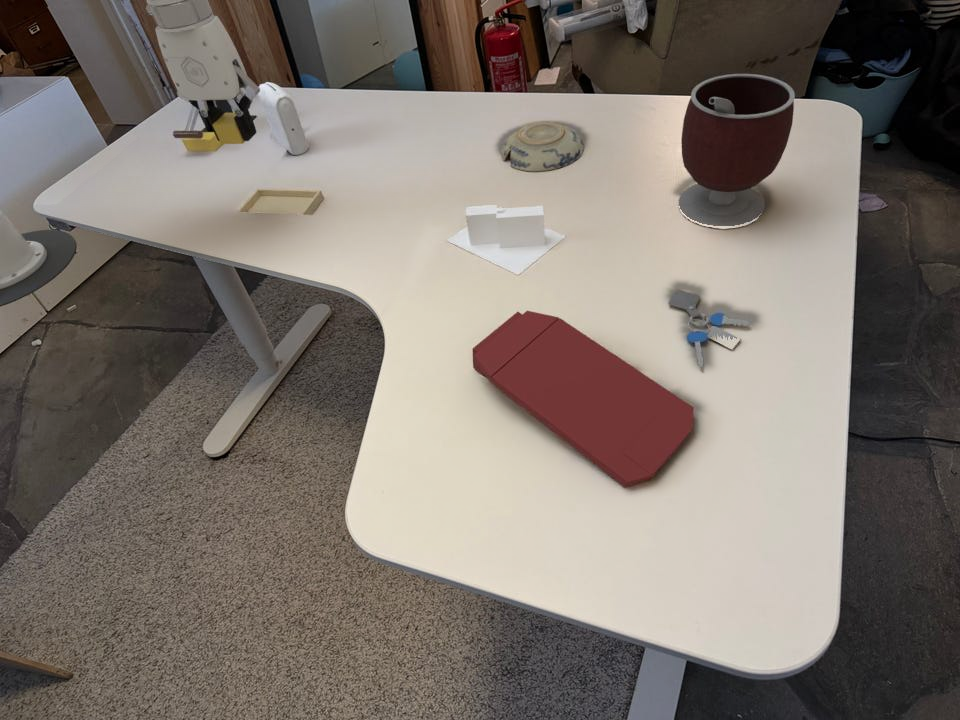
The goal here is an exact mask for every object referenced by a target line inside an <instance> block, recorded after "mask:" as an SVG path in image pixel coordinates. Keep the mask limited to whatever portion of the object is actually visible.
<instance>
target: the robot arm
mask: <svg viewBox="0 0 960 720" xmlns="http://www.w3.org/2000/svg"><path fill="white" fill-rule="evenodd" d="M146 3H147V4H146V6H145V10H146V12H147V14H148V15H149V16H153V18H154V19H155V22H156V24H157V26H156V27H155V34H156V38H157V43H158V46H159V49H160V52H161V55H162V57H163V61H164V63H165V65H166V68H167V69H168V73H169V75H170V77H171V78H170V79H171V80H172V82H173V84H174V85H175V89H176V96H177V97H179V98H180V99H182V100H184V101H186V102H188V103H189V104H191V105H193V106H194V107H196V108H197V109H198V110H200V113H201V114H202V116H204V117H207V119H208V121H209V123H210V125H211V127H212V129H213V131H214V133H215V136H216V138H217V140H218V141H220V140H219V138H218V136H217V134H216V131H215V129H214V127H213V124H214V123H215V122H216V121H217V120H218V119H219V118H220V117H221V116H222V115H223V111H222V110H221V108H218V109H217V105H216V102H215V100H227V101H228V103H229V104H230V106H231V108H232V110H233V113H235V114H236V116H235V117H234V120H235V122H236V124H237V126H238V129H239V131H240V133H241V136H242V138H243V140H244V141H245V142H249V141H250V140H251V139H252V138H253V137H254V136H255V135H257V127H256V126H255V123H254V120H252V118H251V113H250V111H249V110H250V109H251V105H252V103H253V101H254V99H255V98H256V97H257V96H258V93H259V92H260V89H259V85H257V84H256V82H254V81H253V80H252V79H251V78H250V77H249V76H248V74H247V70H246V68H245V66H244V64H243V61H242V59H241V57H240V55H239V53H238V50H237V48H236V46H235V44H234V42H233V40H232V39H231V37H230V34H229V33H228V31H227V30H226V28H225V26H224V24H223V23H222V21H221V19H220V18H219V16H218V15H214V12H213V9H212V7H211V5H210V2H209V0H146ZM243 89H244V91H245V93H244V91H243ZM235 97H236V98H237V100H236V98H235ZM21 234H22V233H21V232H20V231H19V230H18V229H17V228H16V226H15V225H14V224H13V222H11V220H10V219H9V218H8V216H7V215H6V214H5V213H4V211H3V210H2V209H1V208H0V289H3V288H6V287H9V286H11V285H14V284H16V283H18V282H20V281H22V280H24V279H25V278H27V277H29V276H30V275H31V274H33V273H34V272H35V271H36V270H38V269H39V268H40V267H41V265H42V264H43V263H44V261H45V260H46V257H47V251H46V249H45V248H44V246H43V245H42V244H40V243H38V242H35V241H26V240H25V239H24V238H23V236H22V235H21Z"/></svg>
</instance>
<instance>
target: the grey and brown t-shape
mask: <svg viewBox="0 0 960 720" xmlns="http://www.w3.org/2000/svg"><path fill="white" fill-rule="evenodd" d="M191 105H192V104H191ZM198 116H199V110H198V109H197V108H196V107H194V106H193V105H192V106H191V108H190V112H189V115H188V119H187V121H186V126H185V129H184V130H173V132H172V136H173V138H174V139H183V138H202V137H203V133H202V132H201V131H202V130H195V126H196V123H197V120H198Z"/></svg>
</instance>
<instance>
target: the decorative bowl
mask: <svg viewBox="0 0 960 720" xmlns="http://www.w3.org/2000/svg"><path fill="white" fill-rule="evenodd" d="M584 150H585V145H584V142H583V140H582V139H581V137H580V136H579V135H578V134H577V133H576V132H575V131H574V130H572V129H571V128H569V127H567V126H564V125H561V124H560V123H557V122H554V121H548V120H542V121H541V120H540V121H534V122H531V123H528V124H526V125H523V126H522V127H521V128H520V129H519V130H517V131H515V132H514V133H513V134H511V135H510V136H509V137H508V139H506V141H505V143H504V144H503V145H502V147H501V150H500V155H501V159H502V160H503V162H505V161H506V159H507V158H508V156H509V155H510V167H512V168H513V169H516V170H517V171H519V170H520V171H523V172H531V173H535V172H536V173H537V172H539V173H540V172H549V171H553V170H557V169H561V168H564V167H566V166H569V165H572V163H574V162H575V161H577V160H578V159H579V158H580V157H581V156H582V154H583V152H584Z"/></svg>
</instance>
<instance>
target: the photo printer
mask: <svg viewBox="0 0 960 720" xmlns="http://www.w3.org/2000/svg"><path fill="white" fill-rule="evenodd" d="M258 87H259V89H260V92H259V93H258V94H257V97H258V100H259V102H260V104H261V107H262V109H263V113H264V114H265V117H266V120H267V123H268V125H269V128H270V130H271V133H272V137H273V138H274V140H275V141H276V142H277V143H278V144H279V145H280V146H282V147H283V148H284V149H286V152H287V153H289V154H290V155H292V156H294V155H295V156H299V155H302V154H305V153H306V152H307V151H308V150H309V144H308V141H307V137H306V134H305V132H304V129H303V126H302V123H301V121H300V118H299V117H300V116H299V114H298V111H297V109H296V106H295V103H294V100H293V98H292V97H291V96H290V95H289V93H288V92H286V91H285V89H283V88H282V87H281V86H280V85H278V84H276V83H274V82H269V81H266V82H264V83H260V84H259V85H258Z"/></svg>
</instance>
